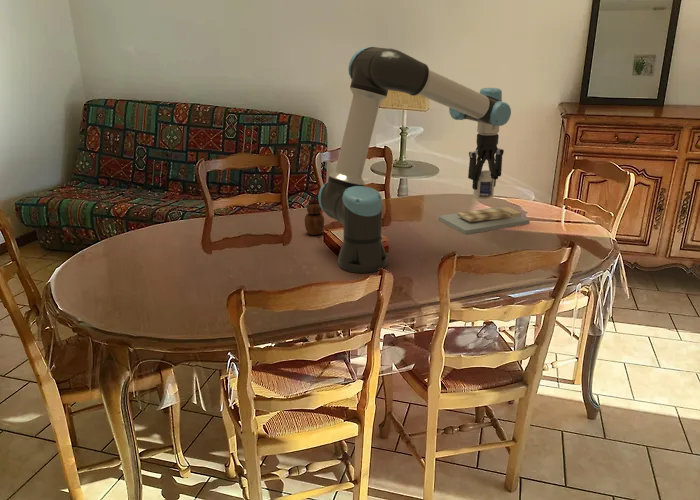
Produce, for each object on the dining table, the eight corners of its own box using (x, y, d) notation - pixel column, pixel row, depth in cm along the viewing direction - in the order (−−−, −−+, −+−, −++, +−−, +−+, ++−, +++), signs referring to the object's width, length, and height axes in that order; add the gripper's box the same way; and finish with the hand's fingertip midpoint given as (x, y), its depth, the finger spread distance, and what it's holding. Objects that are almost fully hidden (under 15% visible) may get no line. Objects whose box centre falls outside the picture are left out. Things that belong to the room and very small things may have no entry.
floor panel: (465, 234, 208) (465, 227, 207) (438, 219, 223) (438, 212, 222) (529, 223, 218) (529, 216, 217) (499, 210, 234) (499, 203, 233)
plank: (469, 221, 213) (469, 218, 213) (457, 215, 220) (457, 212, 219) (510, 217, 220) (510, 214, 220) (496, 211, 227) (497, 208, 226)
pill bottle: (492, 199, 214) (494, 173, 211) (477, 199, 214) (479, 173, 211) (489, 195, 219) (491, 169, 216) (474, 195, 219) (476, 169, 216)
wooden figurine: (325, 231, 212) (324, 191, 207) (323, 236, 207) (322, 195, 201) (306, 230, 213) (305, 190, 207) (304, 236, 207) (302, 195, 202)
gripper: (472, 137, 202) (467, 202, 210) (515, 132, 208) (510, 196, 217) (459, 133, 208) (456, 197, 217) (502, 129, 215) (497, 191, 223)
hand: (483, 196), depth 217 cm, fingers closed on pill bottle, 5 cm apart
